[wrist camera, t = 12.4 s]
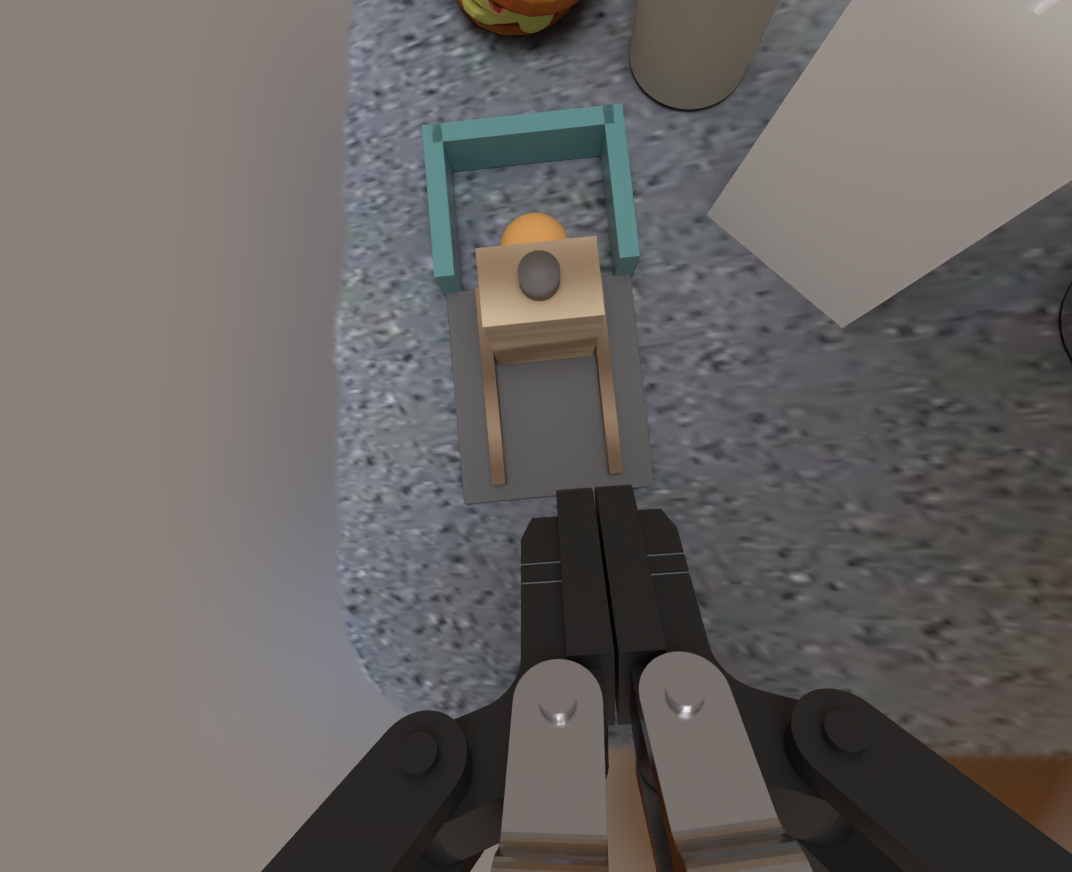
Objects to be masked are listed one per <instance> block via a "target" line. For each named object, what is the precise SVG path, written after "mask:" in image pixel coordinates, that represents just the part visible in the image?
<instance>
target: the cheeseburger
mask: <svg viewBox="0 0 1072 872" xmlns="http://www.w3.org/2000/svg"><path fill="white" fill-rule="evenodd" d="M457 1H458V3H459V6H460V7H461V8H462V9H463V10H464V12H465V13H466V14H467V15H468V16H469V17H470V18H471V19H472V20H473V21H474V22H475V23H476V24H477V25H478V26H479V27H482V28H485V29H487V30H490V31H492V32H495V33H498V34H500V35H529V34H532V33H535V32H539V31H540V30H542V29H545V28H547V27H550V26H552V25H553V24H554V23H555V22H556V21H558V20H559V19H560V18H561V17H562V16H563V15H564V14H565V13H566V12H567V11H568V10H569V9H570V8H571V6H572V5H574V4H575V3H576V2H577V1H579V0H457Z"/></svg>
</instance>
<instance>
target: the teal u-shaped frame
mask: <svg viewBox="0 0 1072 872" xmlns="http://www.w3.org/2000/svg"><path fill="white" fill-rule="evenodd" d="M422 132H423V144H424V157H425V169H426V181H427V193H428V205H429V217H430V229H431V241H432V253H433V265H434V277H435V279H436V281H437V283H438V284H439V286H440V288H441V290H442V291H443V293H444V295H445V296H447V294H446V293H448V292H458V291H463V288H462V277H461V265H460V254H459V242H458V231H457V219H456V208H455V196H454V185H453V173H452V172H456V171H466V170H475V169H484V168H494V167H503V166H512V165H522V164H531V163H540V162H550V161H559V160H568V159H578V158H587V157H596V156H600V158H601V167H602V176H603V185H604V194H605V203H606V212H607V221H608V230H609V239H610V248H611V257H612V266H613V275H623V274H630V276H631V277H632V276H633V273H634V270H635V268H636V265H637V262H638V260H639V257H640V252H639V244H638V235H637V226H636V218H635V209H634V200H633V192H632V183H631V174H630V166H629V157H628V148H627V140H626V131H625V123H624V114H623V105H622V104H613V105H604V106H594V107H585V108H576V109H567V110H558V111H548V112H539V113H530V114H521V115H512V116H502V117H493V118H484V119H475V120H466V121H456V122H447V123H438V124H429V125H422Z"/></svg>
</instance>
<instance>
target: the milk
mask: <svg viewBox="0 0 1072 872" xmlns="http://www.w3.org/2000/svg"><path fill="white" fill-rule="evenodd" d="M1071 180H1072V0H852V1H851V2H850V4H849V5H848V7H847V8H846V10H845V11H844V13H843V14H842V15H841V17H840V18H839V20H838V21H837V23H836V24H835V26H834V27H833V29H832V30H831V32H830V33H829V35H828V36H827V38H826V39H825V41H824V42H823V44H822V45H821V46H820V48H819V49H818V51H817V52H816V54H815V55H814V57H813V58H812V60H811V61H810V63H809V64H808V66H807V67H806V69H805V70H804V72H803V73H802V75H801V76H800V77H799V79H798V80H797V82H796V83H795V85H794V86H793V88H792V89H791V91H790V92H789V94H788V95H787V97H786V98H785V100H784V101H783V103H782V104H781V106H780V107H779V108H778V110H777V111H776V113H775V114H774V116H773V117H772V119H771V120H770V122H769V123H768V125H767V126H766V128H765V129H764V131H763V132H762V134H761V135H760V137H759V138H758V140H757V141H756V142H755V144H754V145H753V147H752V148H751V150H750V151H749V153H748V154H747V156H746V157H745V159H744V160H743V162H742V163H741V165H740V166H739V168H738V169H737V171H736V172H735V173H734V175H733V176H732V178H731V179H730V181H729V182H728V184H727V185H726V187H725V188H724V190H723V191H722V193H721V194H720V196H719V197H718V199H717V200H716V202H715V203H714V204H713V206H712V207H711V209H710V210H709V212H708V213H707V216H708V217H709V218H710V219H712V220H713V221H714V222H715V223H716V224H718V225H719V226H720V227H721V228H722V229H724V230H725V231H726V232H727V233H728V234H730V235H731V236H732V237H733V238H734V239H736V240H737V241H738V242H739V243H740V244H742V245H743V246H744V247H745V248H746V249H748V250H749V251H750V252H751V253H752V254H754V255H755V256H756V257H757V258H758V259H760V260H761V261H762V262H763V263H764V264H766V265H767V266H768V267H769V268H770V269H772V270H773V271H774V272H775V273H776V274H778V275H779V276H780V277H781V278H782V279H784V280H785V281H786V282H787V283H788V284H790V285H791V286H792V287H793V288H794V289H796V290H797V291H798V292H799V293H800V294H802V295H803V296H804V297H805V298H806V299H808V300H809V301H810V302H811V303H813V304H814V305H815V306H816V307H817V308H819V309H820V310H821V311H822V312H823V313H825V314H826V315H827V316H828V317H829V318H831V319H832V320H833V321H834V322H835V323H837V324H838V325H839V326H840V327H841V328H844V327H845V326H847V325H848V324H850V323H851V322H853V321H855V320H856V319H858V318H859V317H861V316H862V315H864V314H865V313H867V312H868V311H870V310H872V309H873V308H875V307H876V306H878V305H879V304H881V303H882V302H884V301H885V300H887V299H889V298H890V297H892V296H893V295H895V294H896V293H898V292H899V291H901V290H902V289H904V288H906V287H907V286H909V285H910V284H912V283H913V282H915V281H916V280H918V279H919V278H921V277H923V276H924V275H926V274H927V273H929V272H930V271H932V270H933V269H935V268H936V267H938V266H940V265H941V264H943V263H944V262H946V261H947V260H949V259H950V258H952V257H953V256H955V255H957V254H958V253H960V252H961V251H963V250H964V249H966V248H967V247H969V246H970V245H972V244H974V243H975V242H977V241H978V240H980V239H981V238H983V237H984V236H986V235H987V234H989V233H991V232H992V231H994V230H995V229H997V228H998V227H1000V226H1001V225H1003V224H1004V223H1006V222H1008V221H1009V220H1011V219H1012V218H1014V217H1015V216H1017V215H1018V214H1020V213H1021V212H1023V211H1025V210H1026V209H1028V208H1029V207H1031V206H1032V205H1034V204H1035V203H1037V202H1038V201H1040V200H1042V199H1043V198H1045V197H1046V196H1048V195H1049V194H1051V193H1052V192H1054V191H1055V190H1057V189H1059V188H1060V187H1062V186H1063V185H1065V184H1066V183H1068V182H1069V181H1071Z"/></svg>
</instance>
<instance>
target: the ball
mask: <svg viewBox="0 0 1072 872" xmlns="http://www.w3.org/2000/svg"><path fill="white" fill-rule="evenodd" d="M561 239H569V238H568V236H567V233H566V231H565V229H564V228H563V227H562V225H561V224H560V223H559V222H558V221H557V220H555V219H554V218H552V217H551V216H548V215H546V214H542V213H528V214H524V215H522V216H520V217H518V218H516V219H515V220H513V221H512V222H511V223H510V224H509V225H508V227H507V228H506V230H505V231H504V233H503V236H502V238H501V242H500V246H503V245H513V244H522V243H532V242H542V241H551V240H561Z"/></svg>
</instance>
